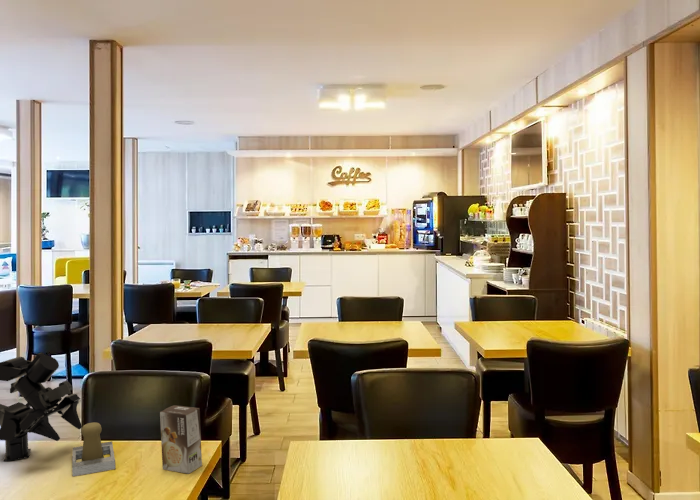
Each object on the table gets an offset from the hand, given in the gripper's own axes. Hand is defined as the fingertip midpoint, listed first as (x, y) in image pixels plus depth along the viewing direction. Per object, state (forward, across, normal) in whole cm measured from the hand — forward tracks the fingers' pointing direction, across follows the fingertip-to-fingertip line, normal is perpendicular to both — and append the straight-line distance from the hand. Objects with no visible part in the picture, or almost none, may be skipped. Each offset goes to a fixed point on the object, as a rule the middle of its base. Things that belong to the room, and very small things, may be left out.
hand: (70, 433), depth 170 cm
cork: (+10, 0, 0) cm, 11 cm away
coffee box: (+29, +1, -19) cm, 35 cm away
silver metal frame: (+10, 0, 0) cm, 11 cm away
